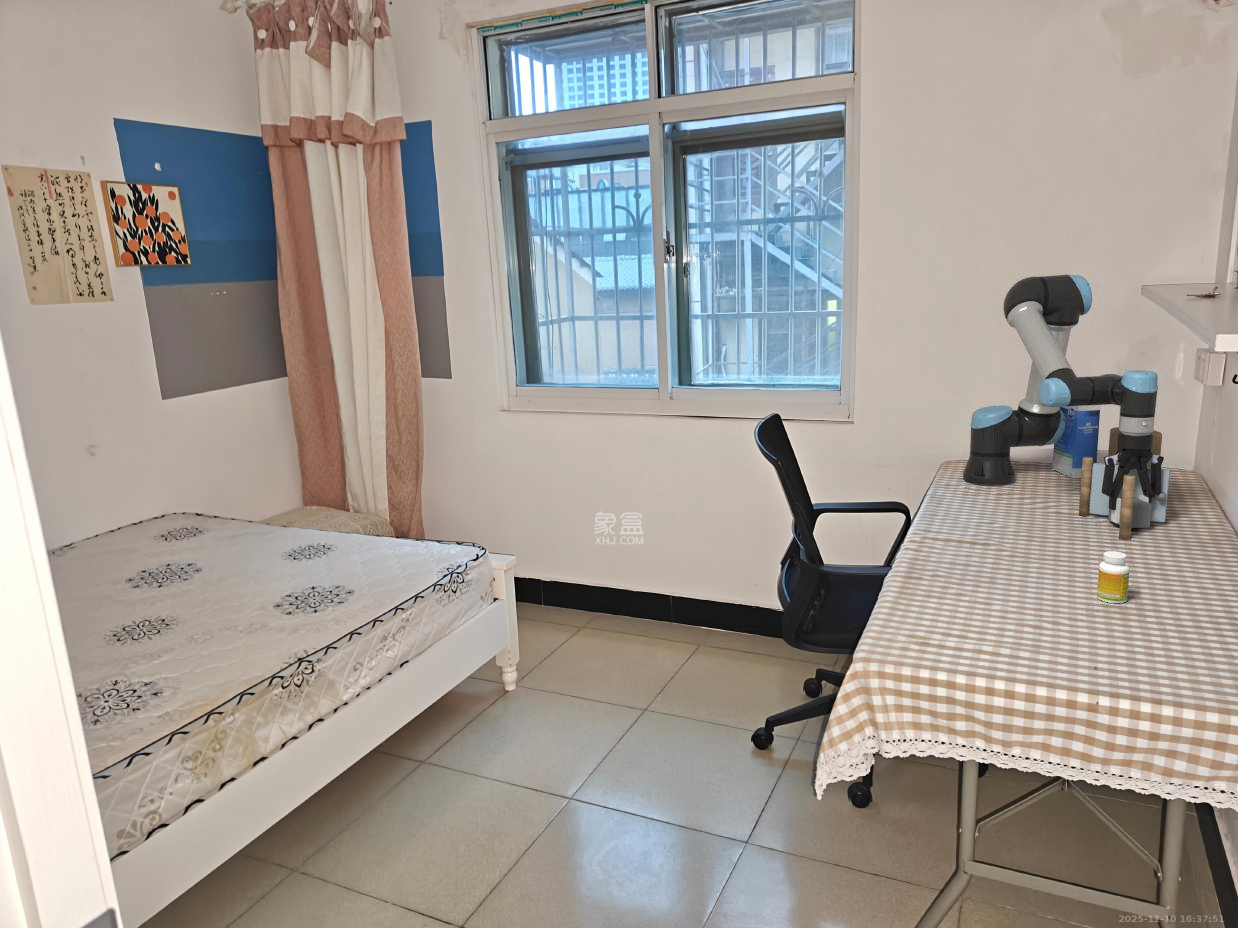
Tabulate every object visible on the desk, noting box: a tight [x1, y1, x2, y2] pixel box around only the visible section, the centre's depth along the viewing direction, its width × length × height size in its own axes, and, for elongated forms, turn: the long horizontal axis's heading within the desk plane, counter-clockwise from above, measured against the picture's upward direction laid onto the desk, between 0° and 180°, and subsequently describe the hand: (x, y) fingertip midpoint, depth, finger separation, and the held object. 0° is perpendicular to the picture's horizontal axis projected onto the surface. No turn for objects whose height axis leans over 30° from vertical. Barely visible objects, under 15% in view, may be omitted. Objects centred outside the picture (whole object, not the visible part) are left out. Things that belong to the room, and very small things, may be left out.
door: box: [1089, 462, 1171, 523], centre depth 217 cm, size 17×4×14 cm, turn 51°
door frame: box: [1078, 457, 1135, 541], centre depth 214 cm, size 23×2×16 cm, turn 177°
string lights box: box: [1052, 405, 1101, 480], centre depth 266 cm, size 13×8×26 cm, turn 1°
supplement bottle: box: [1096, 550, 1130, 604], centre depth 170 cm, size 5×5×10 cm
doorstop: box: [1108, 497, 1152, 529], centre depth 213 cm, size 8×6×6 cm
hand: (1128, 521), depth 214 cm, fingers closed on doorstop, 6 cm apart
